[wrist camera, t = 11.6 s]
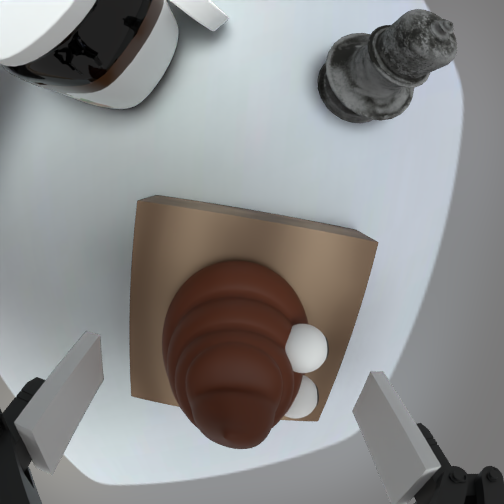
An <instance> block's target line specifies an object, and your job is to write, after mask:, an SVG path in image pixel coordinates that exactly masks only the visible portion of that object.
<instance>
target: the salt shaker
mask: <svg viewBox="0 0 504 504" xmlns="http://www.w3.org/2000/svg"><path fill="white" fill-rule="evenodd" d="M456 51H457V42H456V38H455V35H454V33H453V23H452V22H450V21H448V20H445V19H442V18H440V17H439V16H437V15H436V14H434V13H432V12H429V11H426V10H421V9H415V10H411V11H408V12H407V13H405V14H404V15H402V16H401V17H400V18H399V19H398V20H397V21H396V22H394V23H393V24H392V25H385V26H381V27H378V28H377V29H375V30H374V31H373V32H372V33H371V35H370V34H365V33H355V34H350V35H347V36H344V37H342V38H341V39H339V40H338V41H337V42H335V43H334V45H333V46H332V48H331V49H330V51H329V52H328V56H327V60H326V63H325V64H324V65H323V67H322V69H321V70H320V73H319V76H318V90H319V93H320V96H321V99H322V100H323V102H324V103H325V105H326V107H327V108H328V109H329V110H330V111H331V112H332V113H333V114H335V115H336V116H338V117H339V118H341V119H343V120H346V121H349V122H354V123H364V122H369V121H371V120H373V119H374V120H386V119H392V118H394V117H396V116H398V115H400V114H401V113H402V112H403V111H404V110H405V109H406V108H407V107H408V106H409V104H410V102H411V100H412V97H413V91H414V87H417V86H420V85H422V84H423V83H424V82H425V81H426V80H427V79H428V77H429V75H430V72H432V71H434V70H437V69H439V68H441V67H443V66H446V65H448V64H449V63H450V62H451V61H452V60H453V59H454V58H455V55H456Z"/></svg>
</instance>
